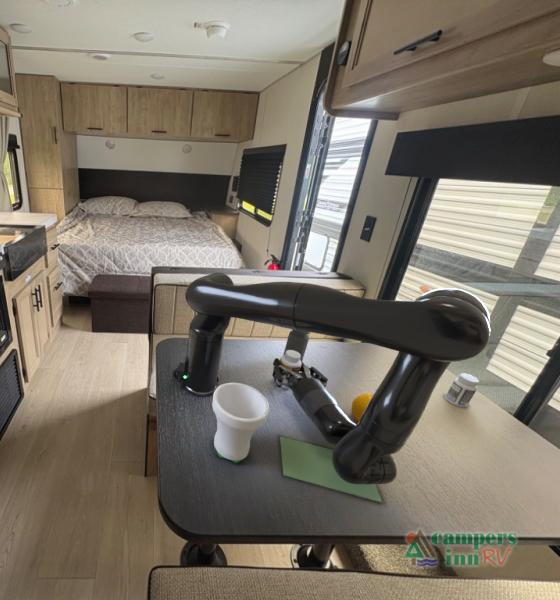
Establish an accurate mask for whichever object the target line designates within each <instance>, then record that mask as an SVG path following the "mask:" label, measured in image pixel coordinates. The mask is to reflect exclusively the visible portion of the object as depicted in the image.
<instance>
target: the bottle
mask: <svg viewBox="0 0 560 600" xmlns="http://www.w3.org/2000/svg"><path fill="white" fill-rule="evenodd" d="M310 333H311V332H304V331H299V330H294V329H291V331H289V333H288V336H287V340H286V343H285V347H284V351H283V353H282V354H283V355H285V353H286V351H287V350H294V351H296V352H298V353H300V355H301V357H300V360H301V361H302V362H303V361H304V357H305V353H306V350H307V347H308V344H309V340H310V337H309V334H310ZM283 355H282V356H283Z"/></svg>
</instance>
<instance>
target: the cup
mask: <svg viewBox="0 0 560 600" xmlns="http://www.w3.org/2000/svg"><path fill="white" fill-rule="evenodd" d="M212 411H213V413H214V414H215V417H216V422H217V423H216V425H217V426H216V432H215V434H214V438H213V445H214V449H215V450H216V451H215V452H216V453H217V455H218V457H219V458H220V459H226V460H229V461H231V462H232V463H234V464H238V463H239V462H241V461H242V460H244V459H246V458H247V456H248V455H249V453H250V448H251V440H252V437H253V435H254V434H255V432H256V431H257V430H258V429H259V428H261V427H262V426H264V424H265V423H266V421H267V417H268V414H269V411H270V405H269V402H268V399H267V398H266V397H265V396H264V395H263V393H261V392H260V391H259V390H258V389H256V388H255V387H252V386H251V385H248V384H247V383H246V384H245V383H242V382H226V383H222V384H220V385H218V386H216V390H215V391H214V393H213V396H212Z"/></svg>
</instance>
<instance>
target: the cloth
mask: <svg viewBox="0 0 560 600" xmlns="http://www.w3.org/2000/svg"><path fill="white" fill-rule="evenodd" d="M279 445H280V455H281V465H282V474H283V476H284V477H288V478H290V479H295V480H297V481H298V480H299V481H301V482H305V483H309V484H312V485H316V486H319V487H323V488H326V489H330V490H334V491H338V492H341V493H345V494H348V495H351V496H356V497H359V498H363V499H366V500H370V501H374V502H376V503H380V504H382V503H383V500H382V498H381V495H380V492H379V490H378V487H377V484H363V485H356V484H350V483H348V482H346V481H344V480H343V479H341V478H340V477H339V476H338V474H337V473H336V471H335V469H334V467H333V463H332V453H333V450H334V449H330V448H328V447H324V446H320V445H315V444H311V443H307V442H303V441H300V440H295V439H291V438H287V437H283V436H279Z"/></svg>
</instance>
